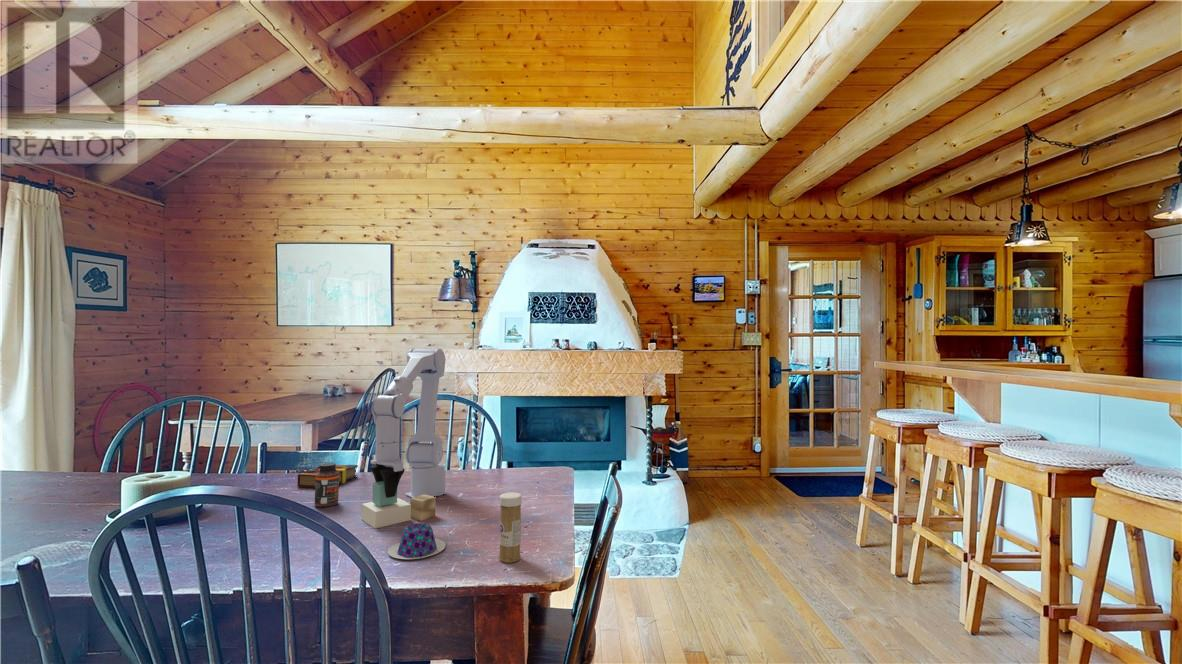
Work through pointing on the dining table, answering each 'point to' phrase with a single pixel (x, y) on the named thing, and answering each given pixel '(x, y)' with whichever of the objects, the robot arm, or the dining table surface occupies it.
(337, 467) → the decorative book
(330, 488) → the supplement bottle
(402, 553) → the purple patterned hat
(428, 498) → the oak block
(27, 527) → the dining table surface
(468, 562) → the dining table surface
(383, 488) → the teal block
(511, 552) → the sprinkles bottle
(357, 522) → the dining table surface
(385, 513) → the base slab
